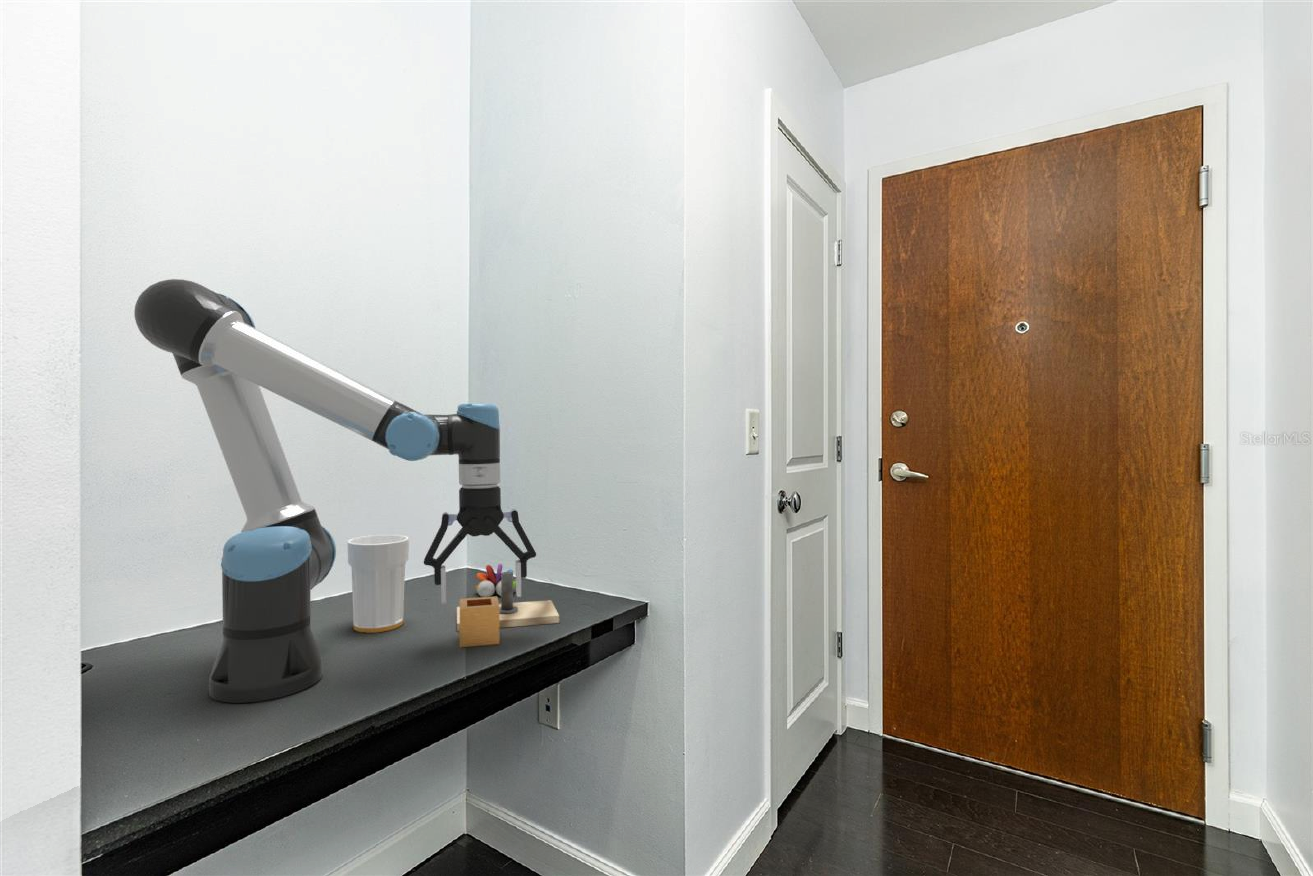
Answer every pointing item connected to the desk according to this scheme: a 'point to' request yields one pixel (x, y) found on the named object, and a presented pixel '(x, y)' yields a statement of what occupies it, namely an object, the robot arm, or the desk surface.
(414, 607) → the desk surface
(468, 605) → the wooden pen holder
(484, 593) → the colorful toy
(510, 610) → the keeper
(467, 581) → the desk surface
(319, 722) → the desk surface
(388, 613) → the cup
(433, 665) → the desk surface
